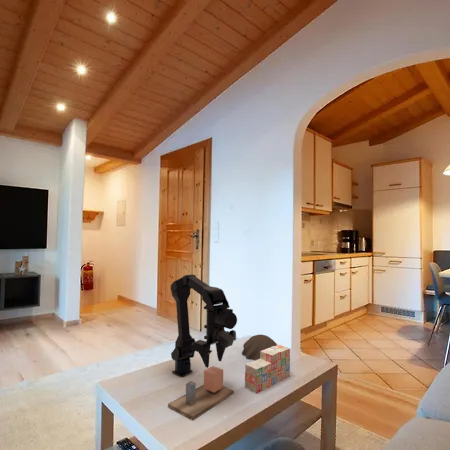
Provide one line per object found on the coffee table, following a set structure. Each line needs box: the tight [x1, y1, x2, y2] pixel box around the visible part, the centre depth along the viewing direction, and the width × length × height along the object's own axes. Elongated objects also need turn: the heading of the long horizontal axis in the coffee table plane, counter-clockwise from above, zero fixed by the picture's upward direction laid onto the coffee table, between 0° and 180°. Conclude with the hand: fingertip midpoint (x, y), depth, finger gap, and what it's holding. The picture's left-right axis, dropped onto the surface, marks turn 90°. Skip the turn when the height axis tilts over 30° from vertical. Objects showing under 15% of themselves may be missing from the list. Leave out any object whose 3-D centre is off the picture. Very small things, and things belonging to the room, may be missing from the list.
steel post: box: [185, 380, 197, 406], centre depth 108 cm, size 2×2×8 cm
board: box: [167, 383, 235, 421], centre depth 112 cm, size 12×22×1 cm, turn 141°
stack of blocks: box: [244, 344, 291, 394], centre depth 127 cm, size 21×6×12 cm, turn 132°
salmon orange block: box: [203, 365, 224, 392], centre depth 117 cm, size 5×5×7 cm
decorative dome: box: [241, 334, 278, 361], centre depth 156 cm, size 19×20×10 cm
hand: (213, 364), depth 117 cm, fingers open, 7 cm apart
